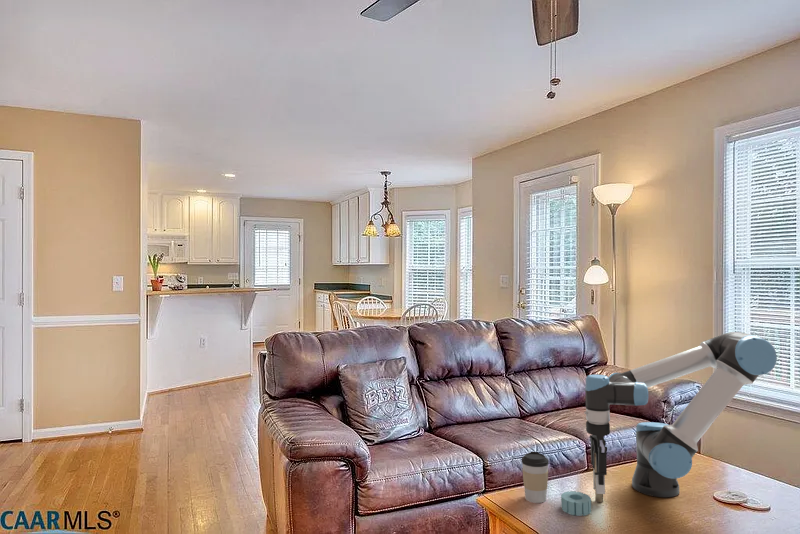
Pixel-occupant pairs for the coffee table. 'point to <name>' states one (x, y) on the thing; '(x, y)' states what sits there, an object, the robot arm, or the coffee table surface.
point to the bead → (576, 503)
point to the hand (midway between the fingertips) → (599, 491)
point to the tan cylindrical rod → (597, 496)
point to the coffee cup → (535, 476)
